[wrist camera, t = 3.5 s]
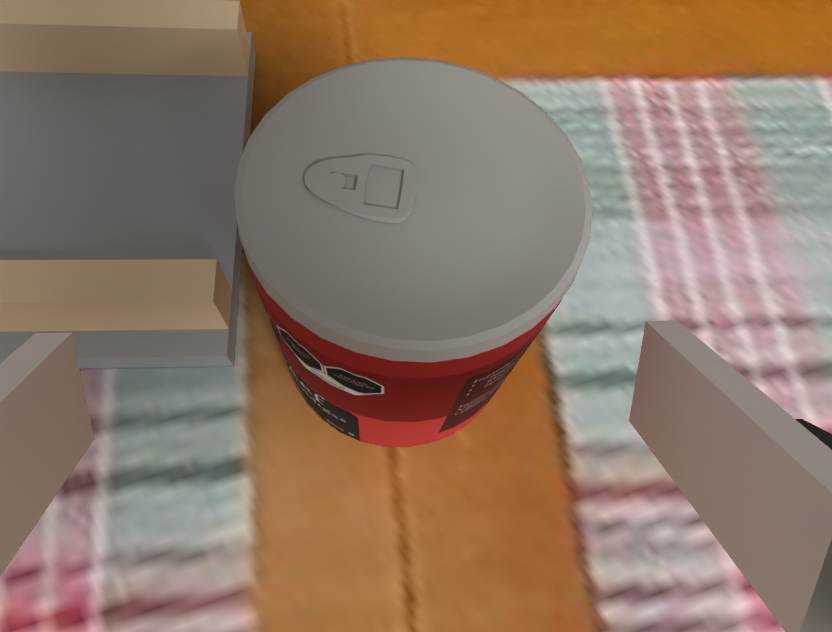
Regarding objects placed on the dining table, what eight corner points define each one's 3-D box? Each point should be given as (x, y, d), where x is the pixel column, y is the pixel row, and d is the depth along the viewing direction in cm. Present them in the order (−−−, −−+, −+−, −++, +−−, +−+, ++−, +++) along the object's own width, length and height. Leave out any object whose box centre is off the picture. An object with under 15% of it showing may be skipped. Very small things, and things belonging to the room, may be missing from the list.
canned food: (281, 272, 25) (222, 63, 15) (479, 251, 26) (551, 41, 16) (298, 468, 22) (239, 378, 12) (519, 436, 23) (638, 327, 13)
